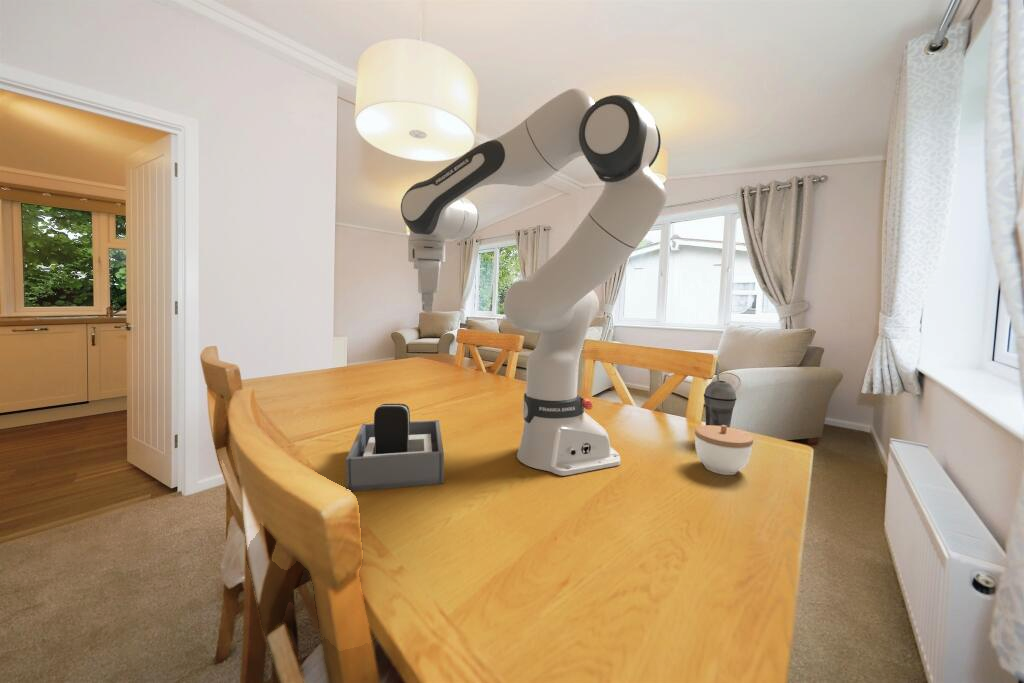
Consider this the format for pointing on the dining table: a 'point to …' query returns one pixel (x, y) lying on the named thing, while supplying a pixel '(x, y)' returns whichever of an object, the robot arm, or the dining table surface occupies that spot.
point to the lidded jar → (723, 448)
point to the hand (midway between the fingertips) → (427, 312)
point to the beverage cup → (719, 402)
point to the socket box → (396, 460)
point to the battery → (391, 428)
